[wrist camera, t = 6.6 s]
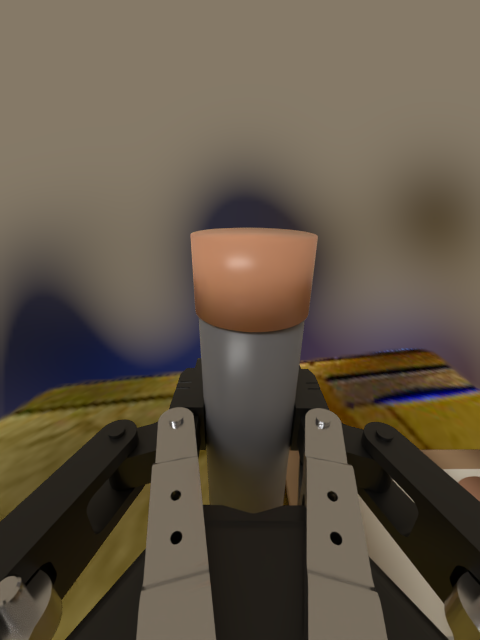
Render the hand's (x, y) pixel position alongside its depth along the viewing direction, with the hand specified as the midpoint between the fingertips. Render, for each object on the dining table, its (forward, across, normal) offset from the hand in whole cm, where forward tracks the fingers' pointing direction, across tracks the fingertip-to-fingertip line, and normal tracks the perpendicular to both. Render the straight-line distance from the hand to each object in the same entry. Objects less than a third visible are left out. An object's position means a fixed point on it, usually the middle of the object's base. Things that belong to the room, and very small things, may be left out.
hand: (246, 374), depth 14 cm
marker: (-3, 0, +9) cm, 9 cm away
